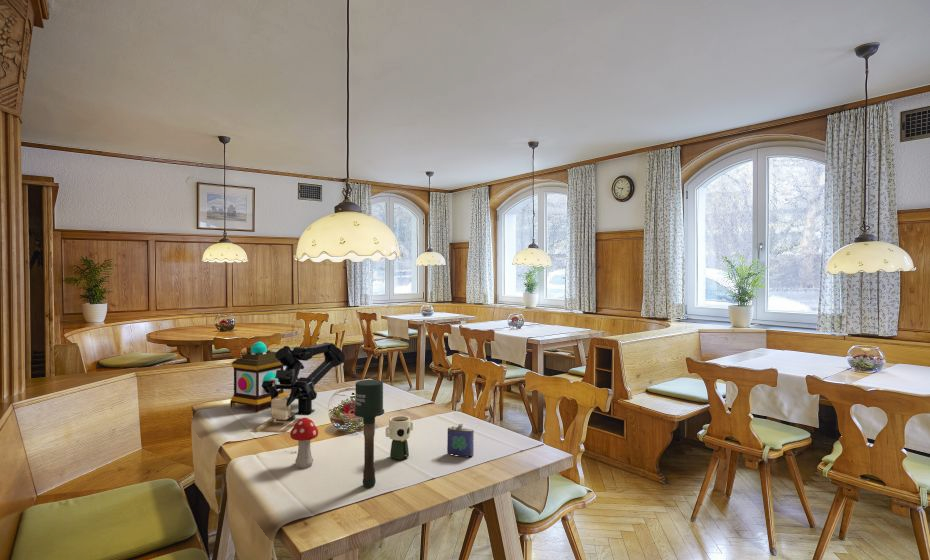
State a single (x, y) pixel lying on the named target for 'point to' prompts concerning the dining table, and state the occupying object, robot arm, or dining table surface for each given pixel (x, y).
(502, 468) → the dining table surface
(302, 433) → the decorative mushroom
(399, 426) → the character mug
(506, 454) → the dining table surface
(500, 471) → the dining table surface
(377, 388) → the potato masher grenade
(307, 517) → the dining table surface
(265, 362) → the decorative lantern
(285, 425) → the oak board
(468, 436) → the flask
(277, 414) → the cream rectangular block
